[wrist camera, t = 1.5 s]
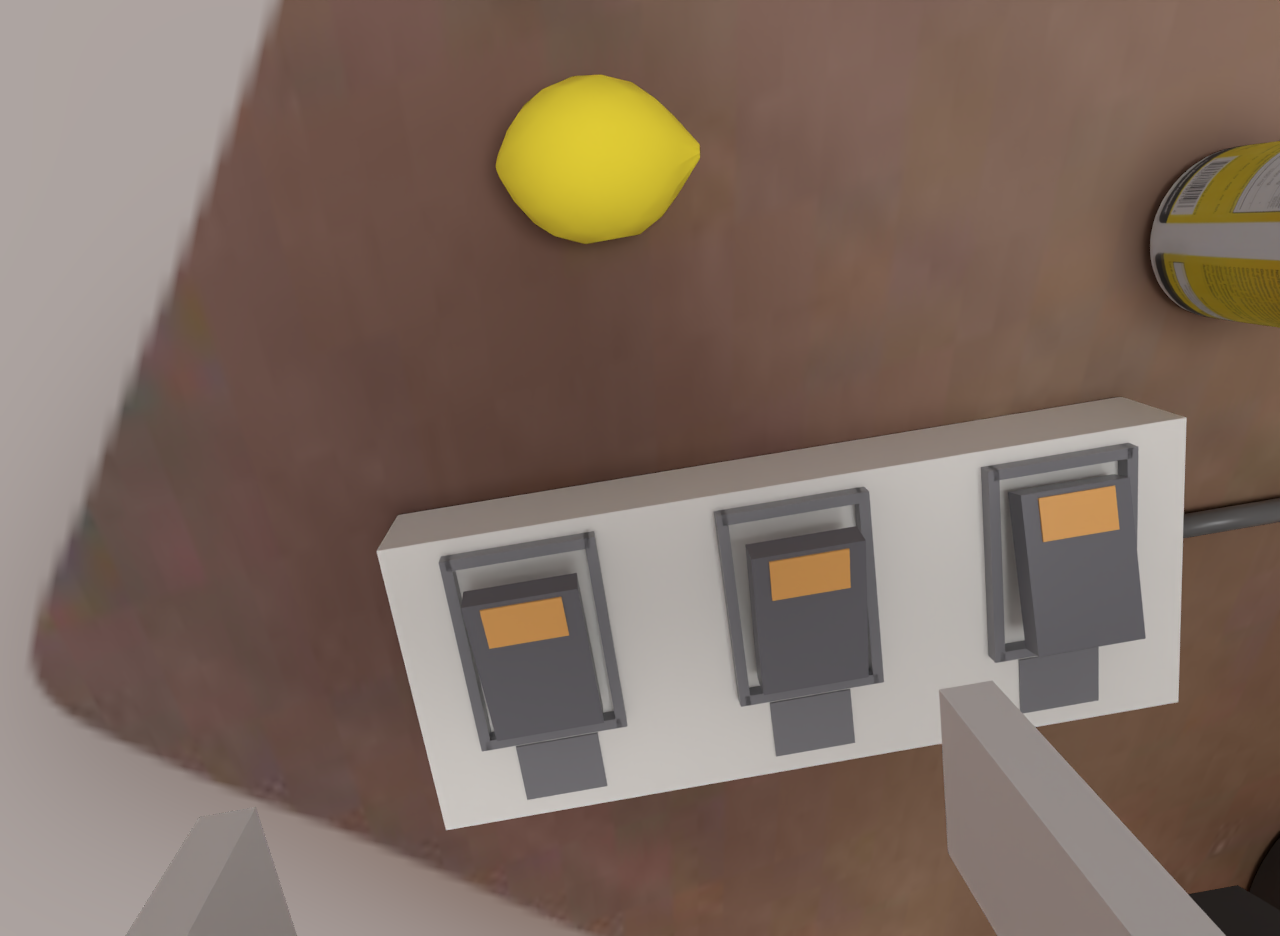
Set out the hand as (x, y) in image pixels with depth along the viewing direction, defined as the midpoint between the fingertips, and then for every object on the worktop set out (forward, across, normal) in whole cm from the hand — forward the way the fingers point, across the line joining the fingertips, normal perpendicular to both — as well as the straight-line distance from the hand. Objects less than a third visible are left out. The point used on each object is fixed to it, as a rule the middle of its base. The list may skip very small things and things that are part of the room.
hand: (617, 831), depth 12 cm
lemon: (+24, -2, -10) cm, 26 cm away
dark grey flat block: (+19, -7, +7) cm, 21 cm away
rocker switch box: (+24, -12, +8) cm, 28 cm away
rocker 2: (+19, -17, +6) cm, 26 cm away
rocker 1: (+19, +3, +7) cm, 20 cm away
